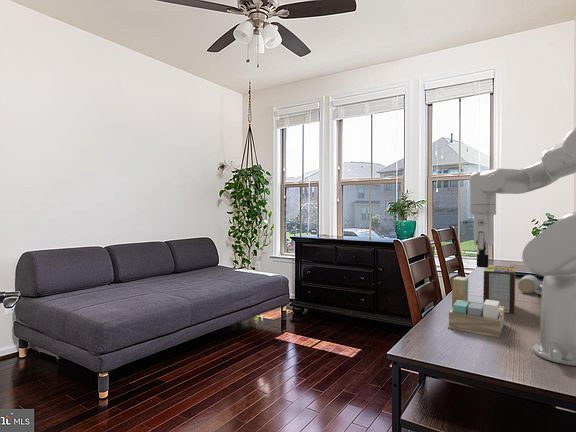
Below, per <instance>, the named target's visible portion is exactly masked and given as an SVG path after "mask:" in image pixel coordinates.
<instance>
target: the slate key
mask: <svg viewBox="0 0 576 432" xmlns="http://www.w3.org/2000/svg"><path fill="white" fill-rule="evenodd" d="M470 302H471V303H470V305H469V306H468V315H474V316H480V317H483V304H479V303H480V302H477V303H472V302H473V301H470Z"/></svg>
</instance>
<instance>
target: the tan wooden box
mask: <svg viewBox="0 0 576 432" xmlns="http://www.w3.org/2000/svg"><path fill="white" fill-rule="evenodd" d="M457 301H462V300H457ZM464 302H469V305H470V303H471V302H472V303H479V304H484V303H483V302H475V301H469V300H468V301H464ZM504 324H505V313H504V306H499V318H498V319H492V318H486V317H480V316H474V315H467V314H461V313H455V312H453V308H452V307H451V309H450V311H449V312H448V325H447V329H448V330H455V331H460V332H465V333H470V334H475V335H481V336H486V337H487V336H488V337H491V338H496V339H497V338H498V339H500V338H501V335H502V332H503V328H504Z"/></svg>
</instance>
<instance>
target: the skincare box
mask: <svg viewBox="0 0 576 432" xmlns="http://www.w3.org/2000/svg"><path fill="white" fill-rule="evenodd" d="M451 290H452V291H451V292H452V293H451V294H452V297H451V299H452V300H451V309H452V308H453V304H454V303H455V302H456V301H457V300H462V301H469V298H468V297H469V277H466V276H465V277H464V276H454V277H453V278H452V289H451Z"/></svg>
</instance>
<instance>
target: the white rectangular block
mask: <svg viewBox="0 0 576 432" xmlns="http://www.w3.org/2000/svg"><path fill="white" fill-rule="evenodd" d="M483 317H486V318H492V319H498V318H499V301H494V300H487V299H486V300H485V302H484V304H483Z"/></svg>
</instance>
